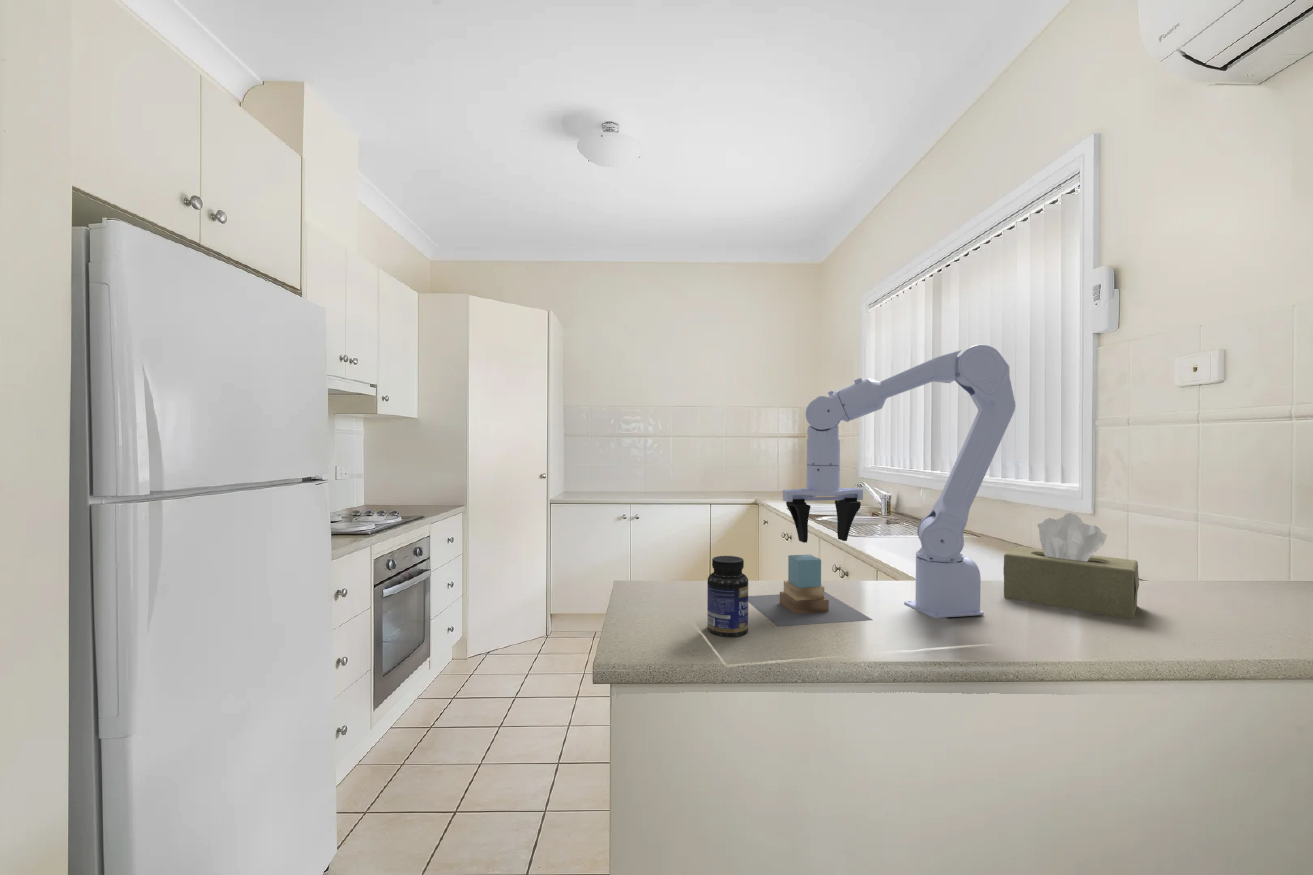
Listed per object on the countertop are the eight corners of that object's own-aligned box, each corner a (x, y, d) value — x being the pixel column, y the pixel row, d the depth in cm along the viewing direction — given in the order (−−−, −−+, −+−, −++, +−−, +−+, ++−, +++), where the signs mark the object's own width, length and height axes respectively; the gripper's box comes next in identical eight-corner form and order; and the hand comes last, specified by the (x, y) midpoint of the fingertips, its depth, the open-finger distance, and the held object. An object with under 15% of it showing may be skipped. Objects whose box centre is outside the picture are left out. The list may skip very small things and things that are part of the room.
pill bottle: (747, 640, 84) (747, 564, 84) (705, 637, 85) (705, 562, 85) (749, 626, 90) (749, 555, 90) (709, 623, 91) (709, 553, 91)
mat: (824, 593, 108) (824, 591, 108) (872, 621, 92) (872, 619, 92) (742, 598, 105) (742, 596, 105) (777, 628, 89) (777, 626, 89)
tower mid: (810, 590, 101) (810, 579, 101) (824, 599, 97) (824, 587, 97) (783, 592, 101) (783, 580, 100) (796, 600, 96) (796, 588, 96)
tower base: (811, 601, 102) (812, 589, 102) (828, 611, 96) (828, 599, 96) (779, 603, 101) (779, 591, 101) (794, 614, 95) (794, 601, 95)
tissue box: (1139, 607, 100) (1140, 515, 100) (1135, 621, 93) (1137, 522, 93) (1013, 587, 113) (1014, 505, 113) (1001, 598, 106) (1002, 511, 106)
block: (809, 580, 101) (810, 554, 101) (820, 586, 97) (821, 559, 97) (788, 581, 100) (788, 555, 100) (798, 587, 96) (798, 560, 96)
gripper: (848, 463, 110) (848, 535, 110) (776, 464, 107) (775, 538, 107) (869, 465, 103) (869, 542, 103) (792, 466, 100) (792, 545, 100)
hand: (822, 540), depth 104 cm, fingers open, 7 cm apart
